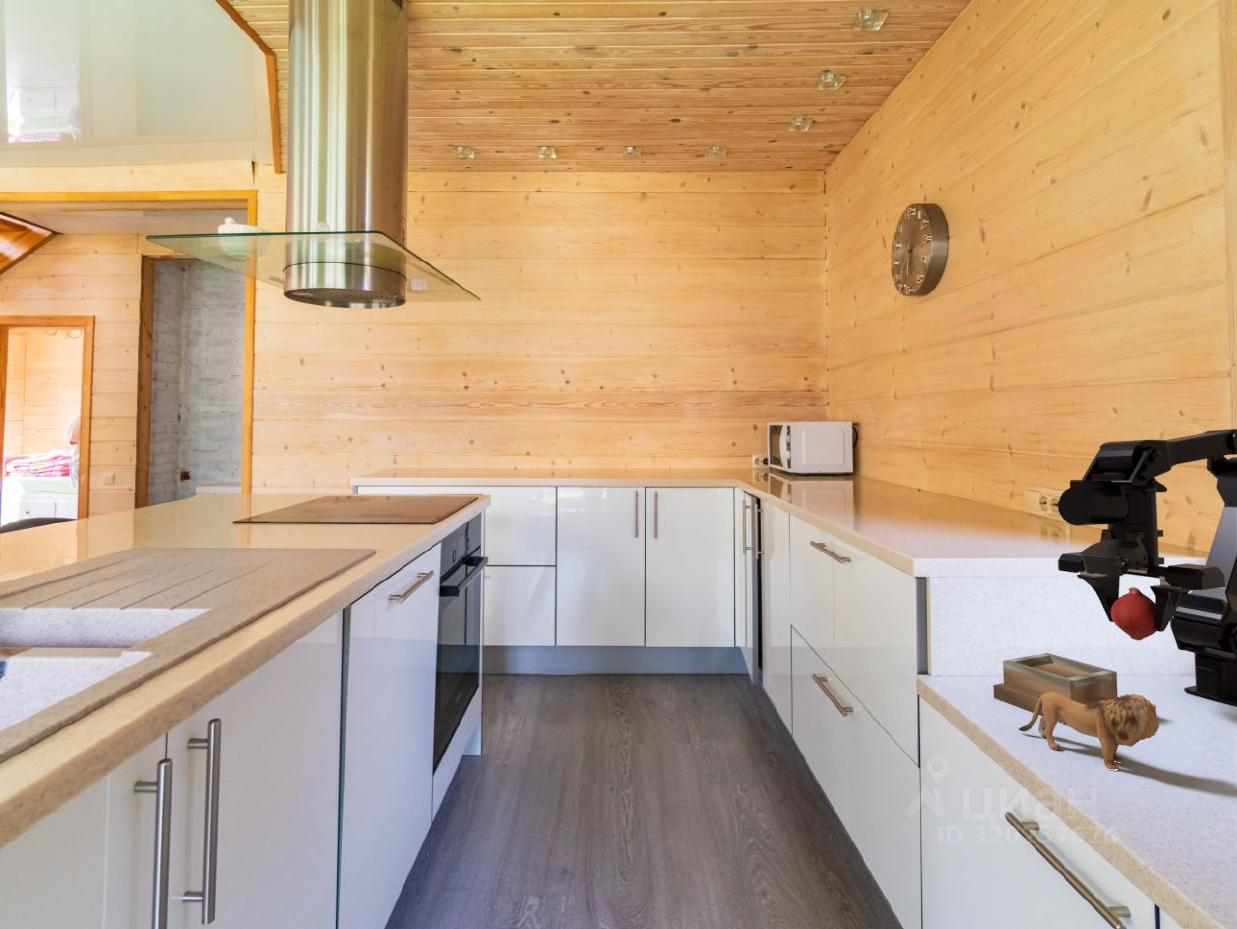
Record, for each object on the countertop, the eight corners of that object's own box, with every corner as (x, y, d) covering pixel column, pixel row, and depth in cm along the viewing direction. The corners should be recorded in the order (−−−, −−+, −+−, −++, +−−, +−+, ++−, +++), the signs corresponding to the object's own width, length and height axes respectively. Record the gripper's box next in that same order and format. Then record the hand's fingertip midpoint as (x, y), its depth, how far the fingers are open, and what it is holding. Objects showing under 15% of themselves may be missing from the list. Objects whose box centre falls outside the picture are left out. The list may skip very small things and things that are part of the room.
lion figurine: (1167, 770, 70) (1164, 694, 70) (1154, 785, 67) (1150, 706, 67) (1026, 728, 82) (1023, 664, 82) (1009, 739, 79) (1007, 672, 79)
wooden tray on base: (1046, 686, 97) (1045, 650, 97) (1130, 714, 85) (1128, 673, 85) (993, 697, 93) (992, 659, 93) (1074, 728, 81) (1072, 684, 81)
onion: (1128, 633, 92) (1126, 582, 92) (1172, 643, 86) (1171, 589, 87) (1103, 637, 90) (1101, 585, 90) (1147, 647, 85) (1145, 592, 85)
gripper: (1032, 521, 95) (1036, 618, 94) (1174, 531, 77) (1179, 649, 77) (1079, 518, 98) (1082, 611, 98) (1224, 526, 81) (1229, 640, 80)
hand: (1135, 626), depth 88 cm, fingers closed on onion, 6 cm apart
